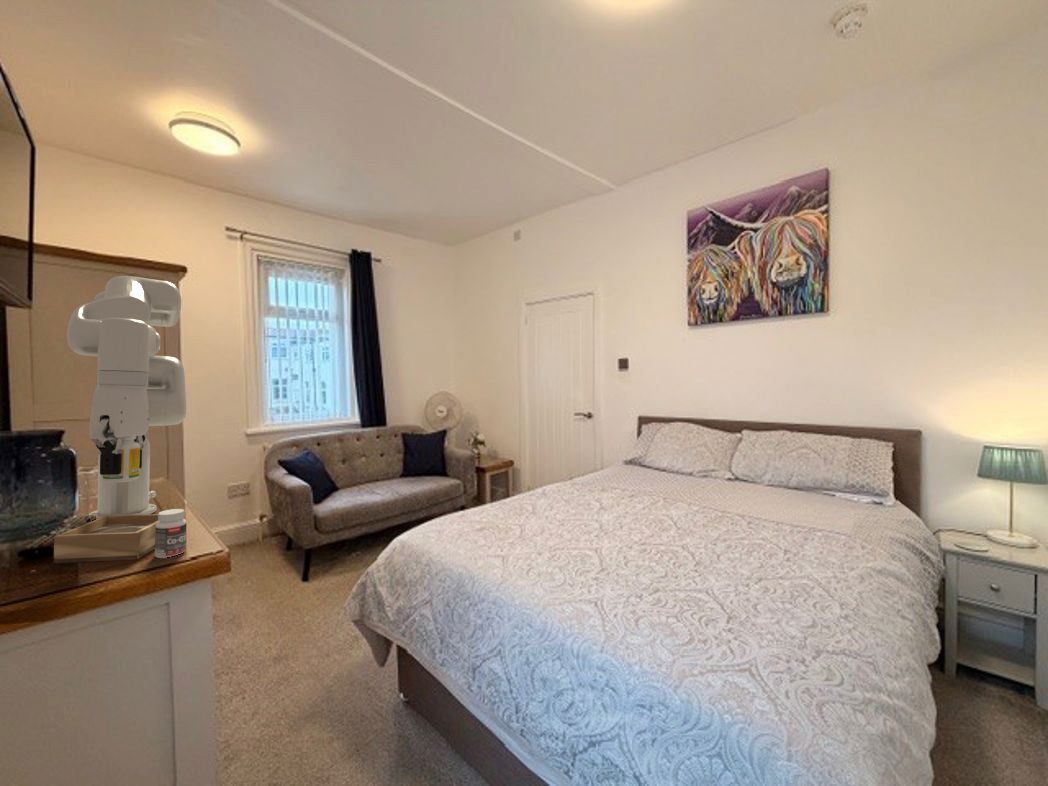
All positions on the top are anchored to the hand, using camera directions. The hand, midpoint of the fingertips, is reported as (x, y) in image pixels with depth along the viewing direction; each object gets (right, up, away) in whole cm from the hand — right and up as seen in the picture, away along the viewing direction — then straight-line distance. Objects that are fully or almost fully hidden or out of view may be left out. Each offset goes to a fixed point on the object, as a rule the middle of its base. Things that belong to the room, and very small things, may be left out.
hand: (121, 470), depth 87 cm
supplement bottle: (0, -2, 0) cm, 2 cm away
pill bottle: (+11, -16, -1) cm, 20 cm away
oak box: (-1, -16, 0) cm, 16 cm away
